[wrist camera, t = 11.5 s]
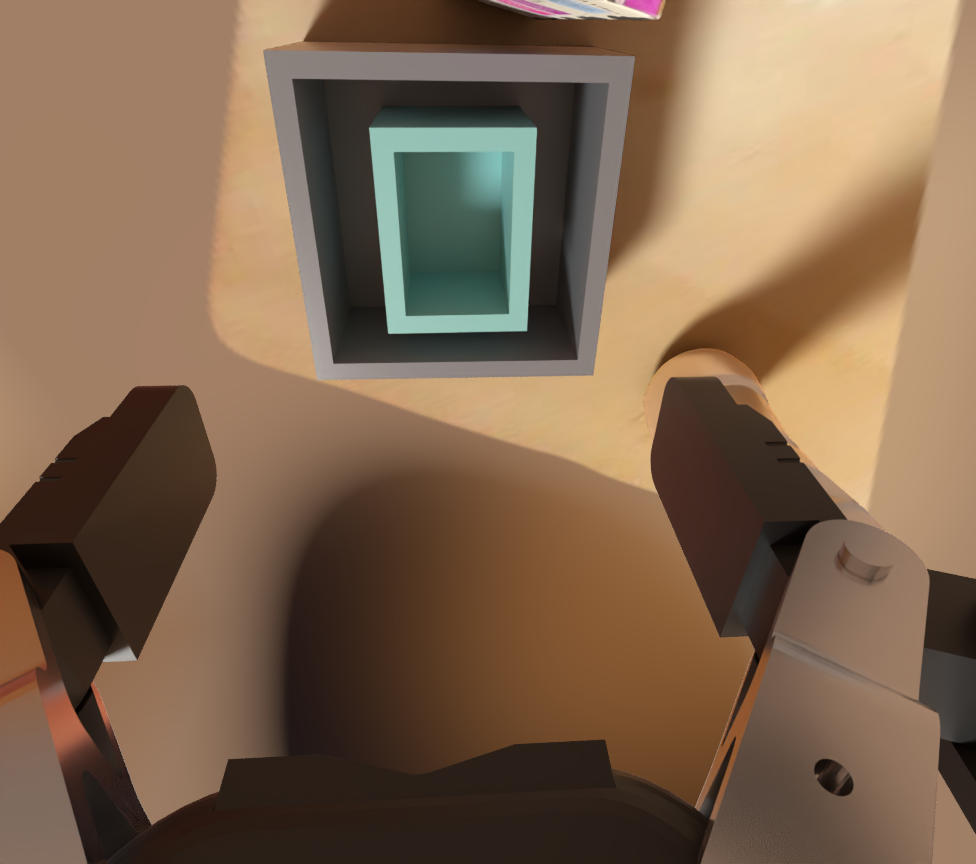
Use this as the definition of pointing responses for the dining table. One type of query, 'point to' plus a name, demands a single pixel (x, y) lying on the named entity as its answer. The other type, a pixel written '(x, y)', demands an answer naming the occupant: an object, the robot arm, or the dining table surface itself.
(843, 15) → the dining table surface
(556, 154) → the gray crate
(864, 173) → the dining table surface
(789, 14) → the dining table surface
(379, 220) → the teal crate
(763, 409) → the plastic bottle
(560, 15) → the candy bar box
